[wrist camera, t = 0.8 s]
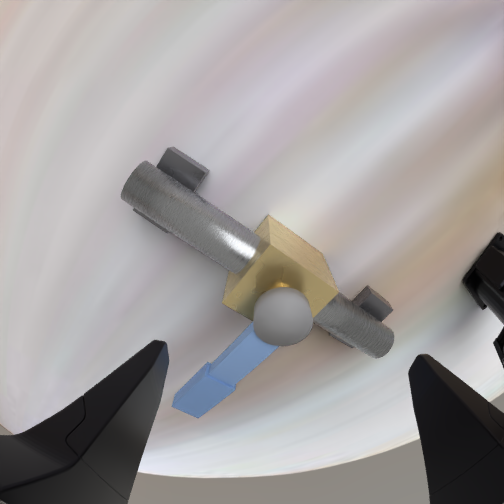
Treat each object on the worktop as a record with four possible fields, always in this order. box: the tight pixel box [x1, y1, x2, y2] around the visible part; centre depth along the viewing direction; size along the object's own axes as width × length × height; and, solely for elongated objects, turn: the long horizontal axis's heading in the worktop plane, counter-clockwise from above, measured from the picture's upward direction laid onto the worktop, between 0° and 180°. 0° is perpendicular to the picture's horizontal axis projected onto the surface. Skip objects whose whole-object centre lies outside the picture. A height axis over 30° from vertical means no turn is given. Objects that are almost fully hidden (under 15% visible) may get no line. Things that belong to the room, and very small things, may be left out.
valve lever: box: [172, 287, 313, 418], centre depth 16 cm, size 12×3×1 cm, turn 144°
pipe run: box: [121, 147, 394, 358], centre depth 18 cm, size 22×5×6 cm, turn 54°
